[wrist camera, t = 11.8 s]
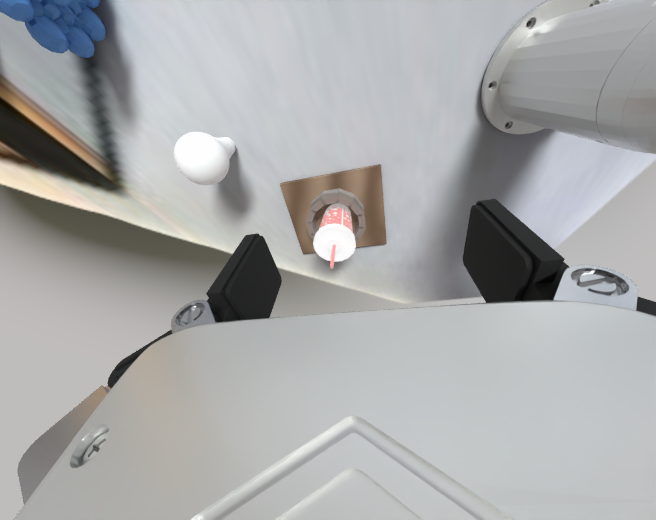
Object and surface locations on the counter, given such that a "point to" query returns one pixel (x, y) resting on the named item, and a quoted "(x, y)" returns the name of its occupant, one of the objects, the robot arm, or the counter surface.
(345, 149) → the counter surface
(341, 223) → the beverage cup
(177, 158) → the lightbulb
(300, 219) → the coaster board
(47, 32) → the grapes
